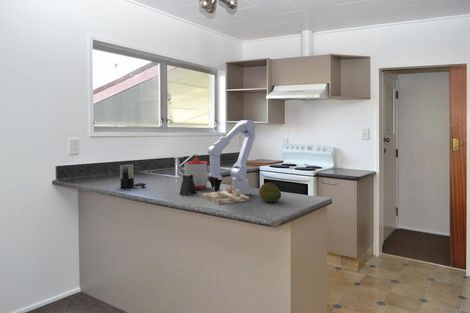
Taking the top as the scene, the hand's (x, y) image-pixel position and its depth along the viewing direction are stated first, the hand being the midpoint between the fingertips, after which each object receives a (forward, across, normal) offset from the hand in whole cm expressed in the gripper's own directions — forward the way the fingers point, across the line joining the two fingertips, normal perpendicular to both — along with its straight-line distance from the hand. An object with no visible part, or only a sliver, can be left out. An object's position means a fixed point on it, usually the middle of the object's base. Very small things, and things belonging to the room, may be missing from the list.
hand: (215, 190), depth 211 cm
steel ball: (-1, 0, 0) cm, 1 cm away
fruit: (+4, +26, +21) cm, 34 cm away
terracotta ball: (0, +1, +8) cm, 8 cm away
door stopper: (+4, -16, -11) cm, 20 cm away
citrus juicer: (+4, -32, +1) cm, 32 cm away
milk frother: (+4, -57, -36) cm, 68 cm away
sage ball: (0, +12, +8) cm, 15 cm away
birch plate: (+4, +7, +3) cm, 8 cm away
